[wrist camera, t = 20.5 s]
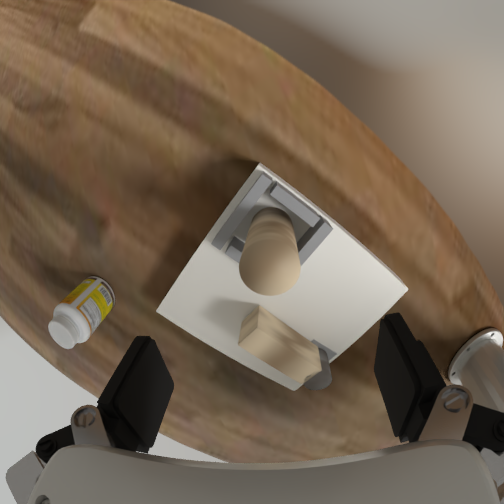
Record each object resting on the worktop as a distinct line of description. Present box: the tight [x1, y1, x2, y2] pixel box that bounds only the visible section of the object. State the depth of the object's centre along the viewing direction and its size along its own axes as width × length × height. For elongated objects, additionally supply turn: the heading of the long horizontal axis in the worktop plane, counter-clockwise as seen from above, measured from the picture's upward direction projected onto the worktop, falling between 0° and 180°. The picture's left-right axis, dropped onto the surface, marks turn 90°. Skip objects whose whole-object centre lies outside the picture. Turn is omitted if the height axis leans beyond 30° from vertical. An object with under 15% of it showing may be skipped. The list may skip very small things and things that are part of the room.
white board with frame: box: [156, 163, 408, 391], centre depth 30 cm, size 21×20×6 cm
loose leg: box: [239, 207, 301, 296], centre depth 23 cm, size 4×4×9 cm
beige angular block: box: [238, 305, 332, 390], centre depth 30 cm, size 12×3×4 cm, turn 51°
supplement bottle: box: [48, 276, 115, 349], centre depth 30 cm, size 6×6×10 cm
